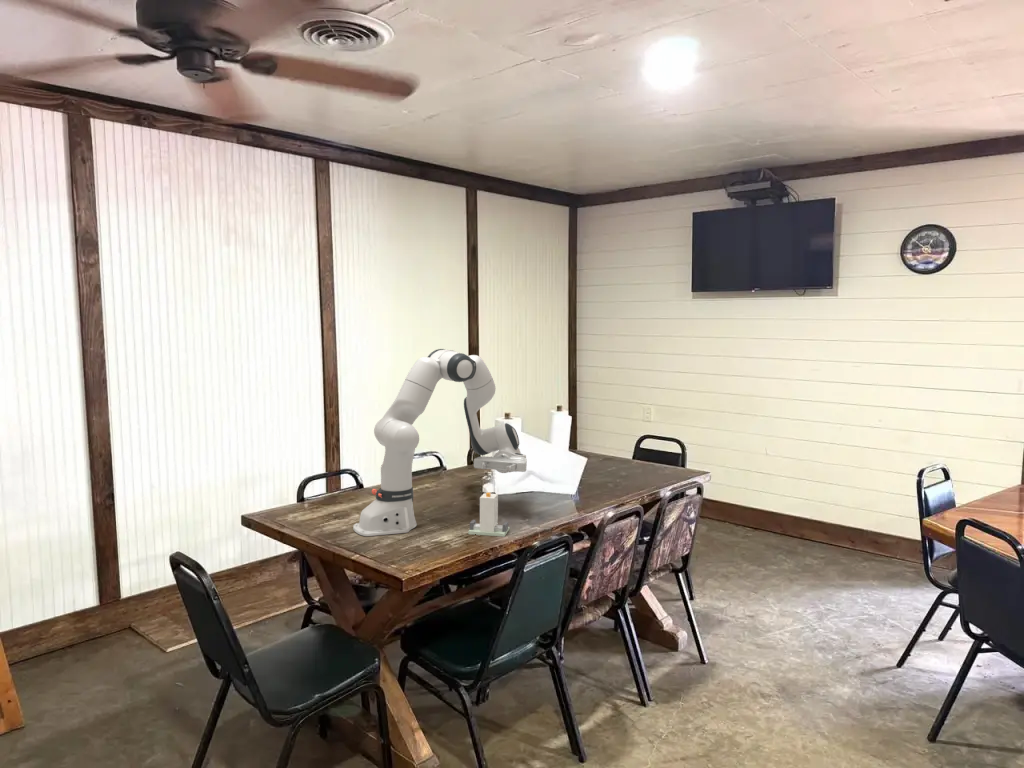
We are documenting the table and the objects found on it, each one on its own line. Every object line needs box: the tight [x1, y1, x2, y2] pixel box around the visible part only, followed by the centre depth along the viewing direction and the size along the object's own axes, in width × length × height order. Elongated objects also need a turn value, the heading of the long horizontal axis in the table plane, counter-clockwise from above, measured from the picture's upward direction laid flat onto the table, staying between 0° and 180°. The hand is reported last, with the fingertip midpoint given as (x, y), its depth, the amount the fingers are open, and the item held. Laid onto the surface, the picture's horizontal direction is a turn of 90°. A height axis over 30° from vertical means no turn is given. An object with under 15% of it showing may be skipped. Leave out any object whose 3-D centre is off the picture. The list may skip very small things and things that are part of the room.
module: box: [479, 492, 499, 532], centre depth 245 cm, size 6×5×13 cm
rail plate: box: [467, 519, 510, 538], centre depth 245 cm, size 8×13×3 cm, turn 78°
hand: (496, 467), depth 257 cm, fingers open, 8 cm apart
